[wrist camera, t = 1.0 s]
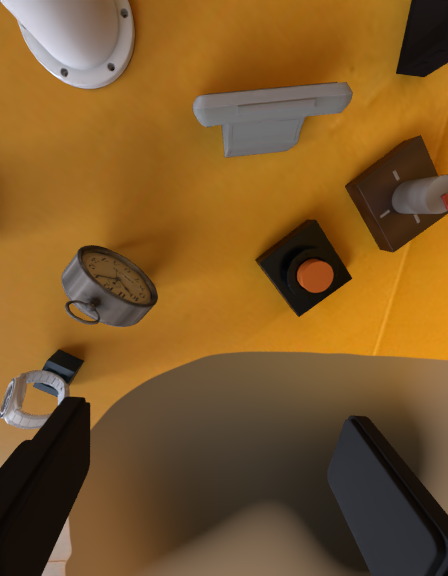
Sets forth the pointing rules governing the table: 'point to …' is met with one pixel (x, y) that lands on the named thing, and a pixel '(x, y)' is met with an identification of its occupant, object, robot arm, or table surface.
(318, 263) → the button
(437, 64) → the digital camera
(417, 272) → the table surface
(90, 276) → the alarm clock
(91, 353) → the table surface
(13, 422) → the watch
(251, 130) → the digital clock
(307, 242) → the button box
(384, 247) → the dial panel
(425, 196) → the dial
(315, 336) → the table surface
